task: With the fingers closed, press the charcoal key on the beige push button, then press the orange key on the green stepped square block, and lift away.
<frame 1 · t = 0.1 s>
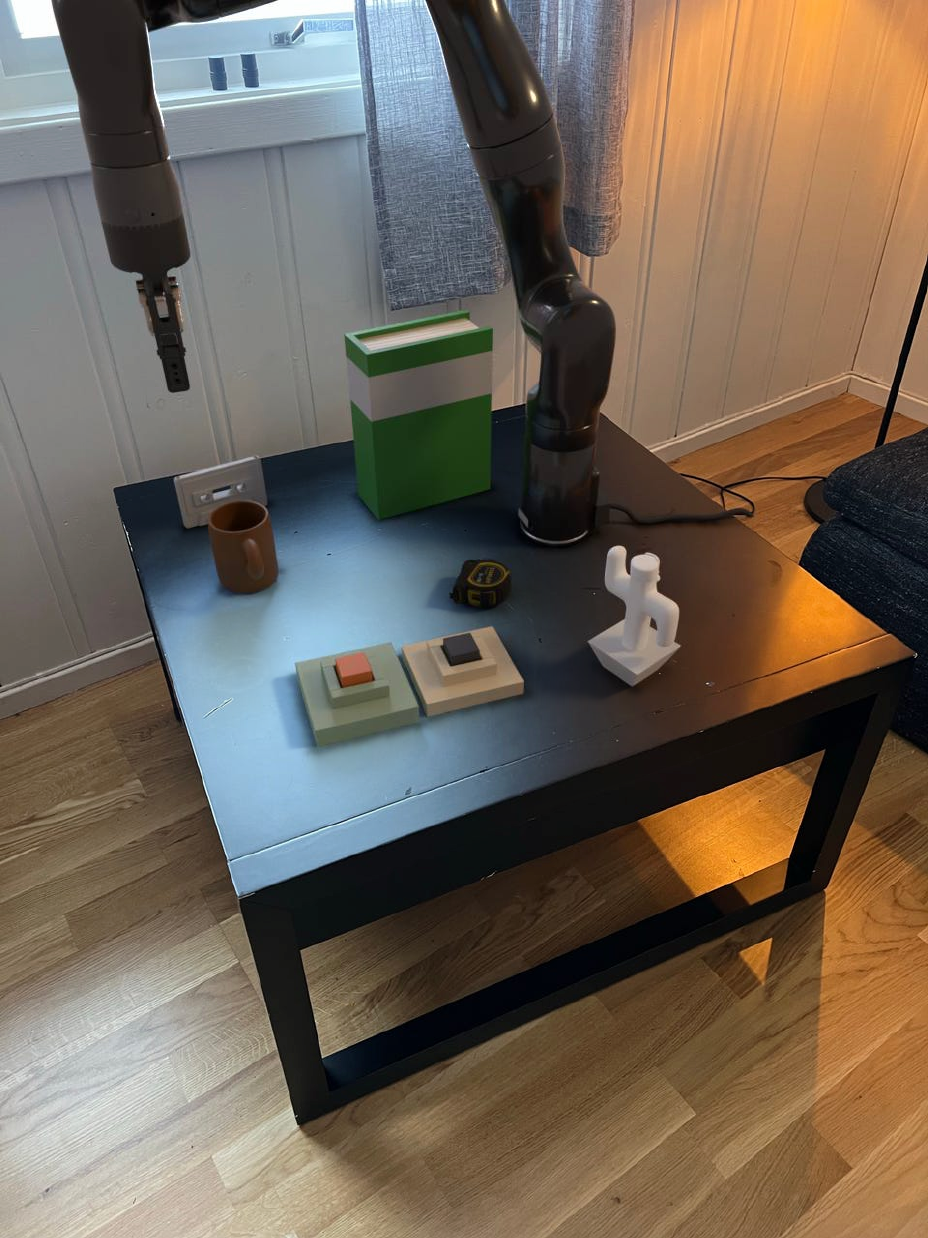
hand: (175, 373, 98), 29 cm above the table, tool pointing down, fingers open, 8 cm apart
tape measure: (477, 598, 116), on the table
key b: (353, 670, 99), point 4 cm above the table, slide at 0.1 cm
key a: (461, 649, 102), point 4 cm above the table, slide at 0.1 cm
green stepped square block: (356, 700, 101), on the table
figurine: (630, 669, 105), on the table
beige push button: (461, 675, 104), on the table
hardback book: (424, 493, 135), on the table
cassette: (226, 516, 130), on the table
mug: (253, 588, 117), on the table
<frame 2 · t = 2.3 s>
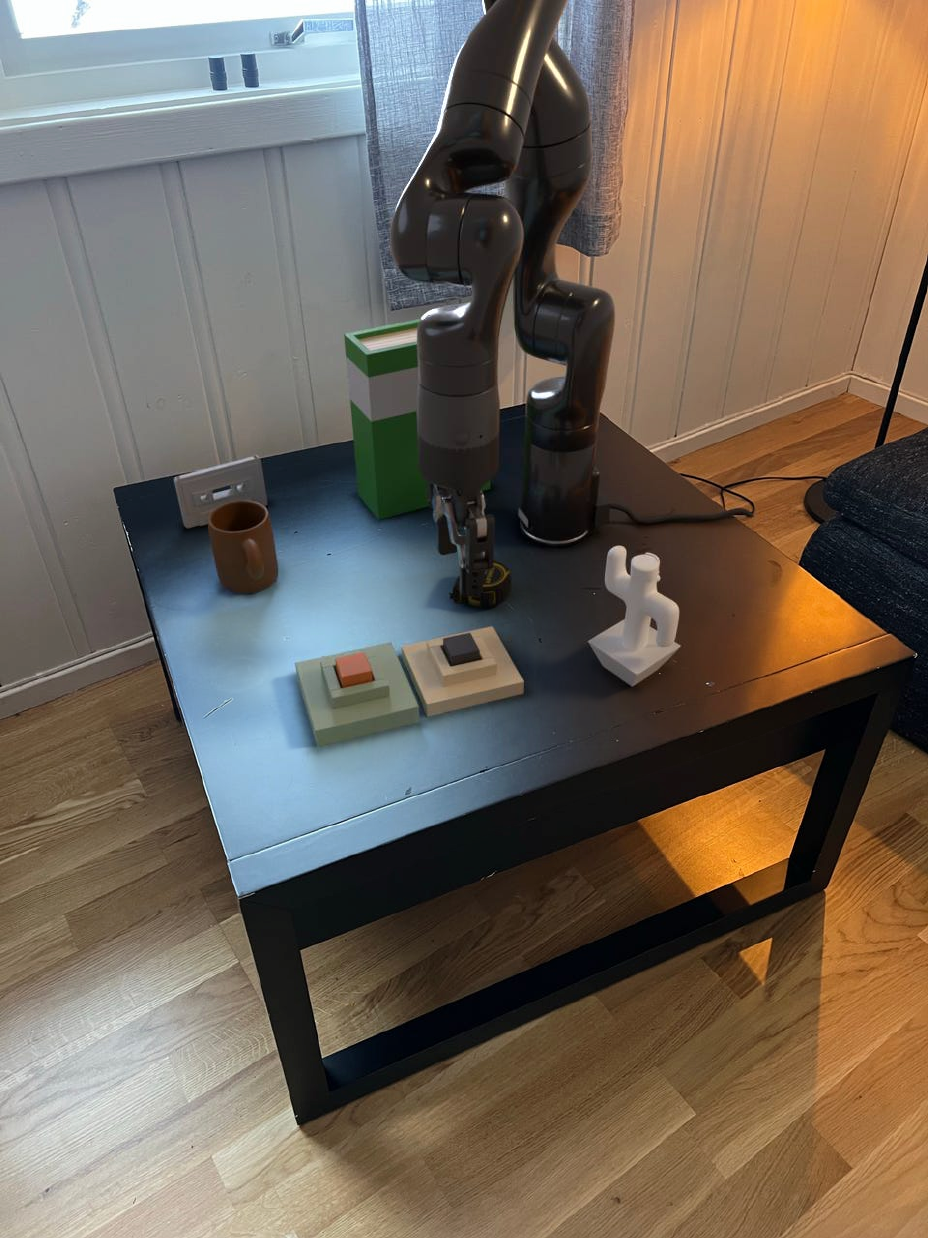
hand: (459, 572, 95), 14 cm above the table, tool pointing down, fingers open, 7 cm apart
nothing on the table moved.
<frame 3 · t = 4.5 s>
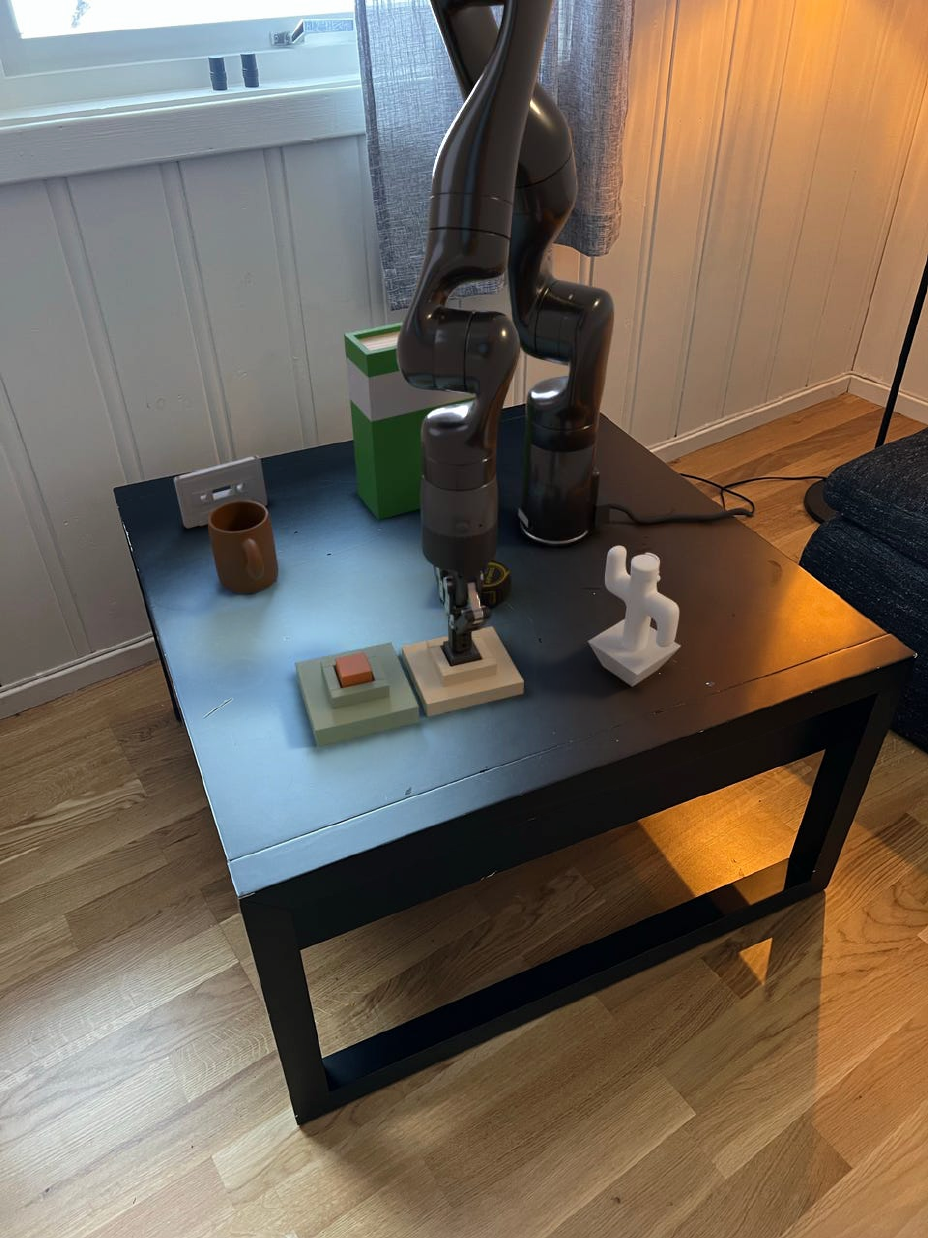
hand: (459, 647, 102), 4 cm above the table, tool pointing down, fingers closed
key a: (461, 652, 102), point 3 cm above the table, slide at -0.3 cm, touching gripper
everything else where it was.
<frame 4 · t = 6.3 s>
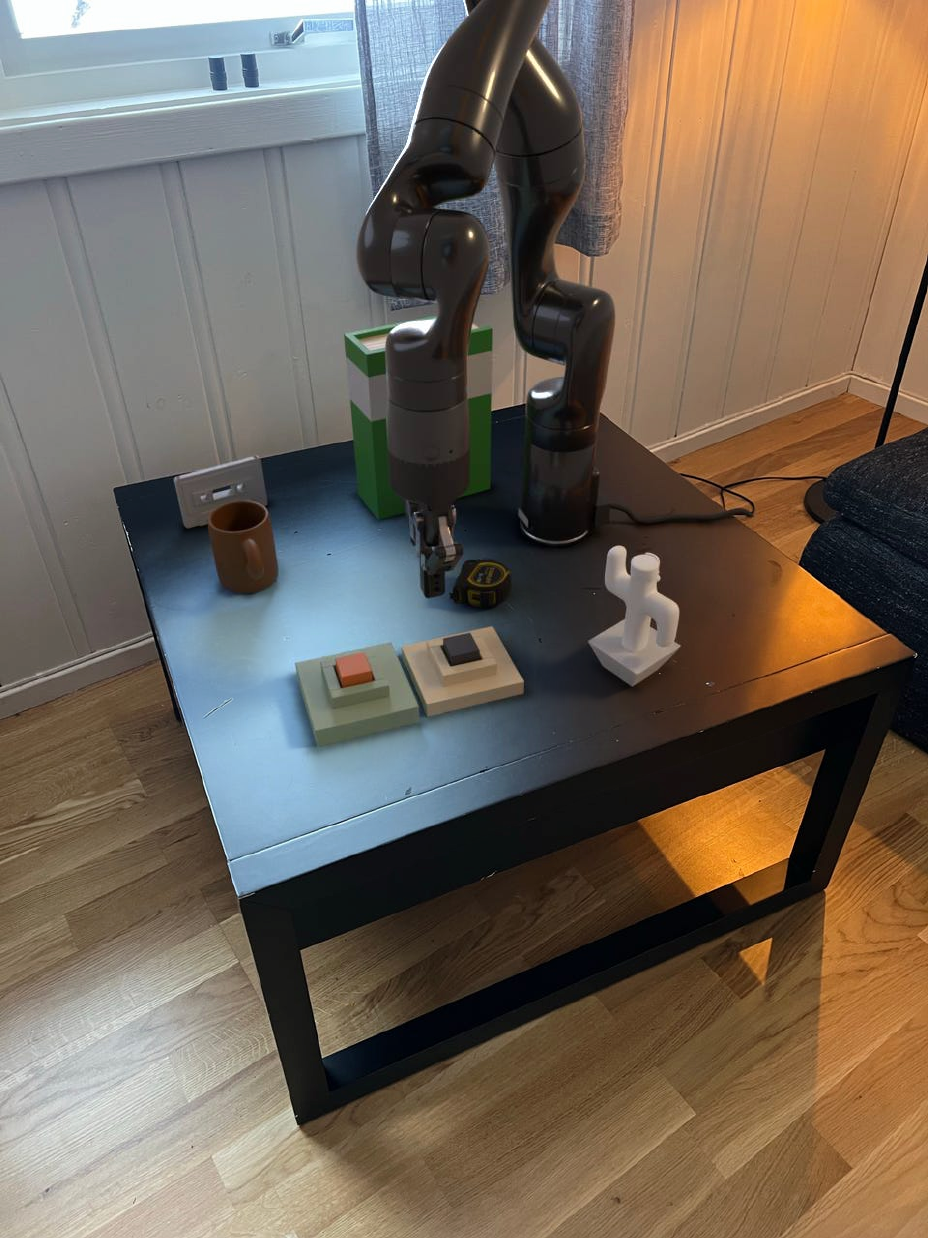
hand: (432, 592, 95), 13 cm above the table, tool pointing down, fingers closed
key a: (461, 649, 102), point 4 cm above the table, slide at 0.1 cm
everything else where it was.
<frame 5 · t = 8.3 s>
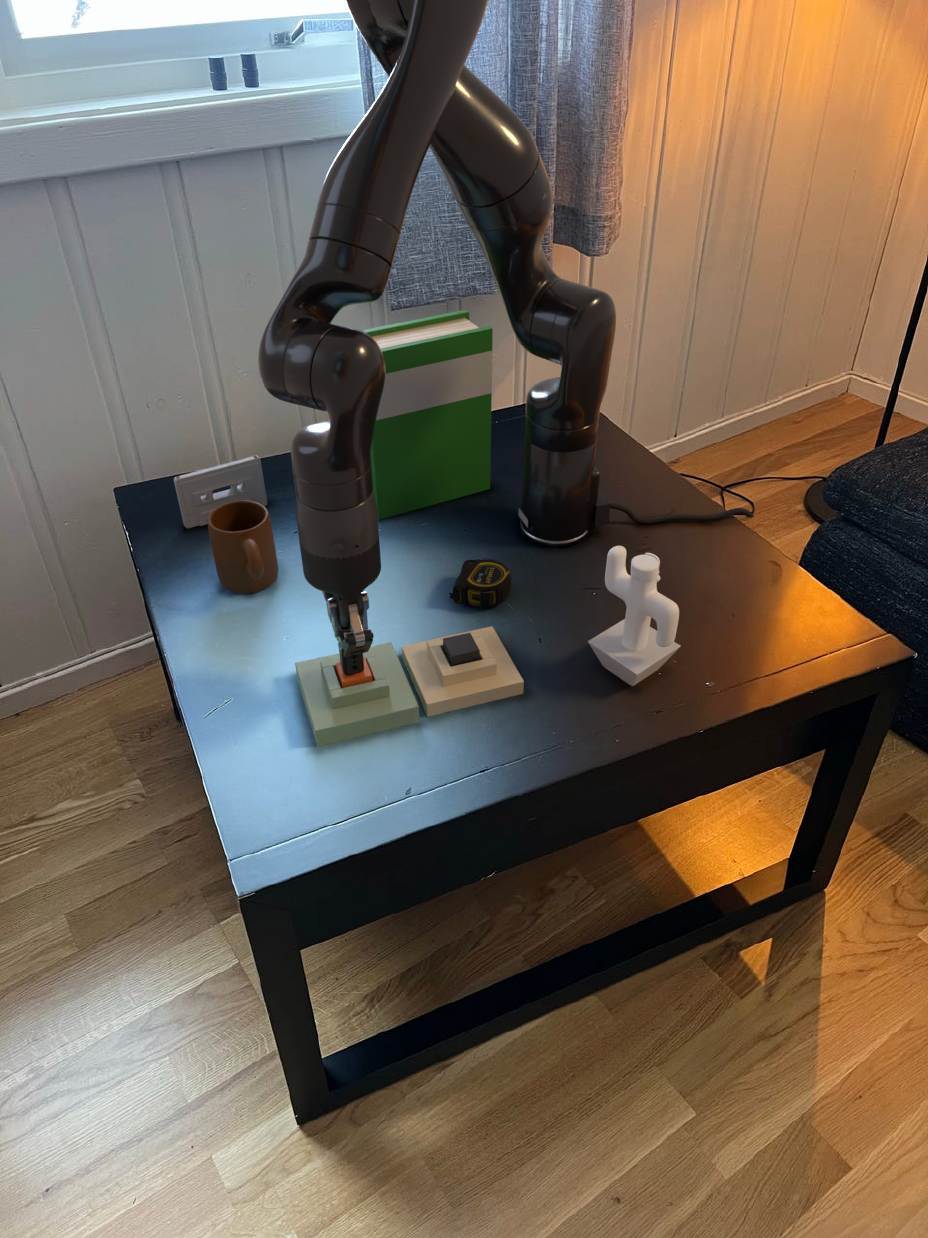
hand: (352, 669, 99), 5 cm above the table, tool pointing down, fingers closed
key b: (354, 674, 99), point 4 cm above the table, slide at -0.5 cm, touching gripper
everything else where it was.
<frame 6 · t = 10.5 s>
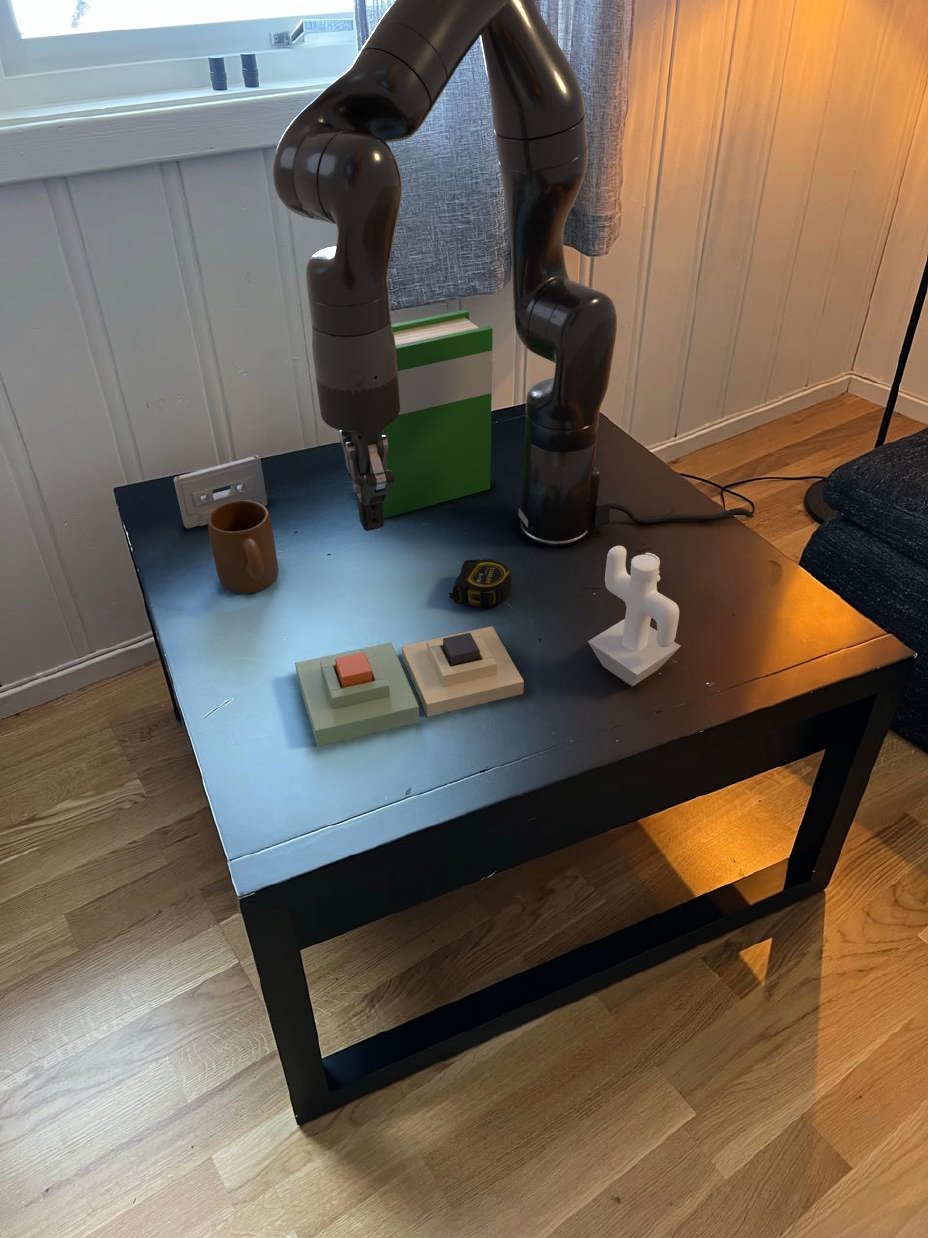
hand: (372, 525, 97), 17 cm above the table, tool pointing down, fingers closed
key b: (353, 670, 99), point 4 cm above the table, slide at 0.1 cm
everything else where it was.
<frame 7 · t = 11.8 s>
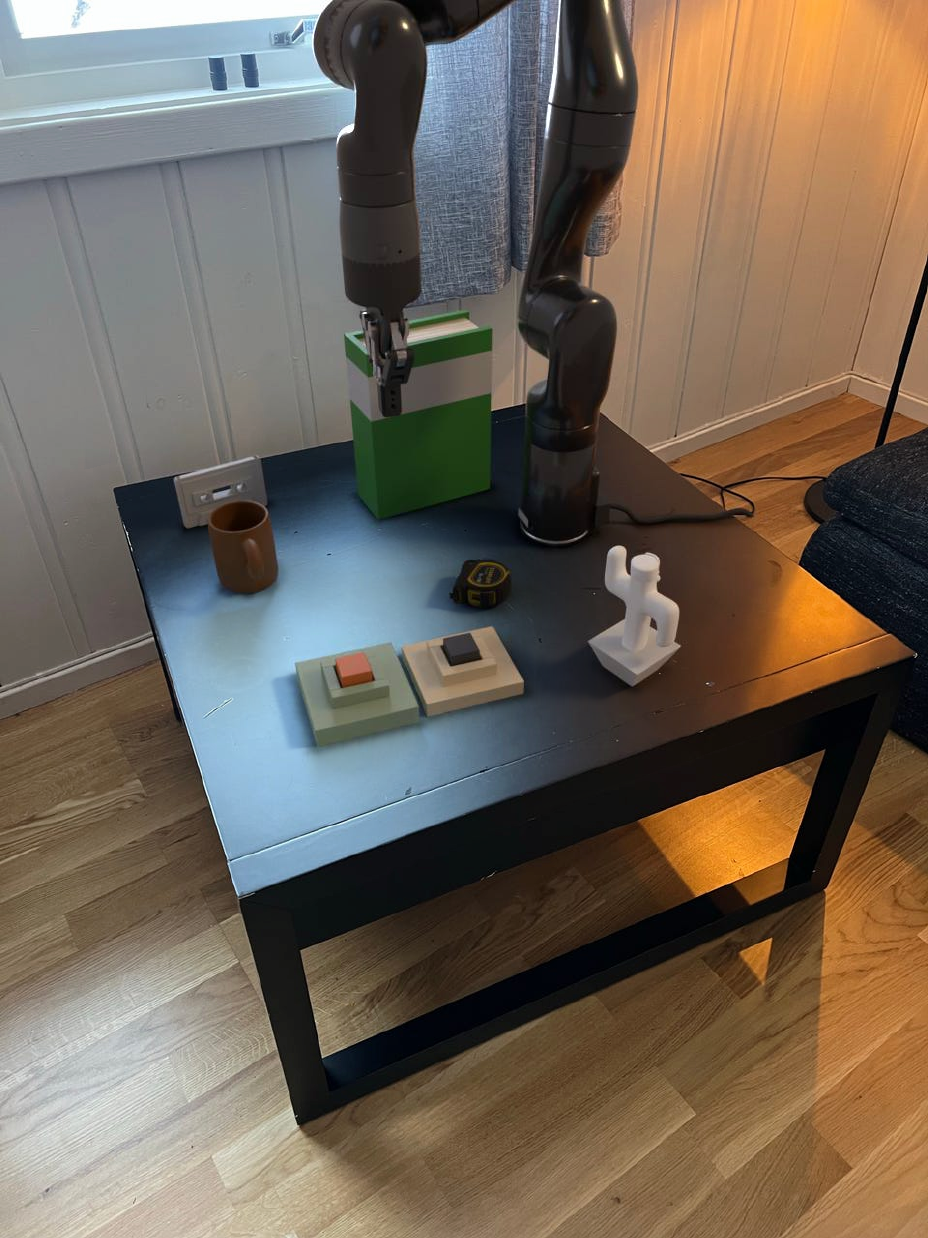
hand: (390, 413, 100), 25 cm above the table, tool pointing down, fingers closed
nothing on the table moved.
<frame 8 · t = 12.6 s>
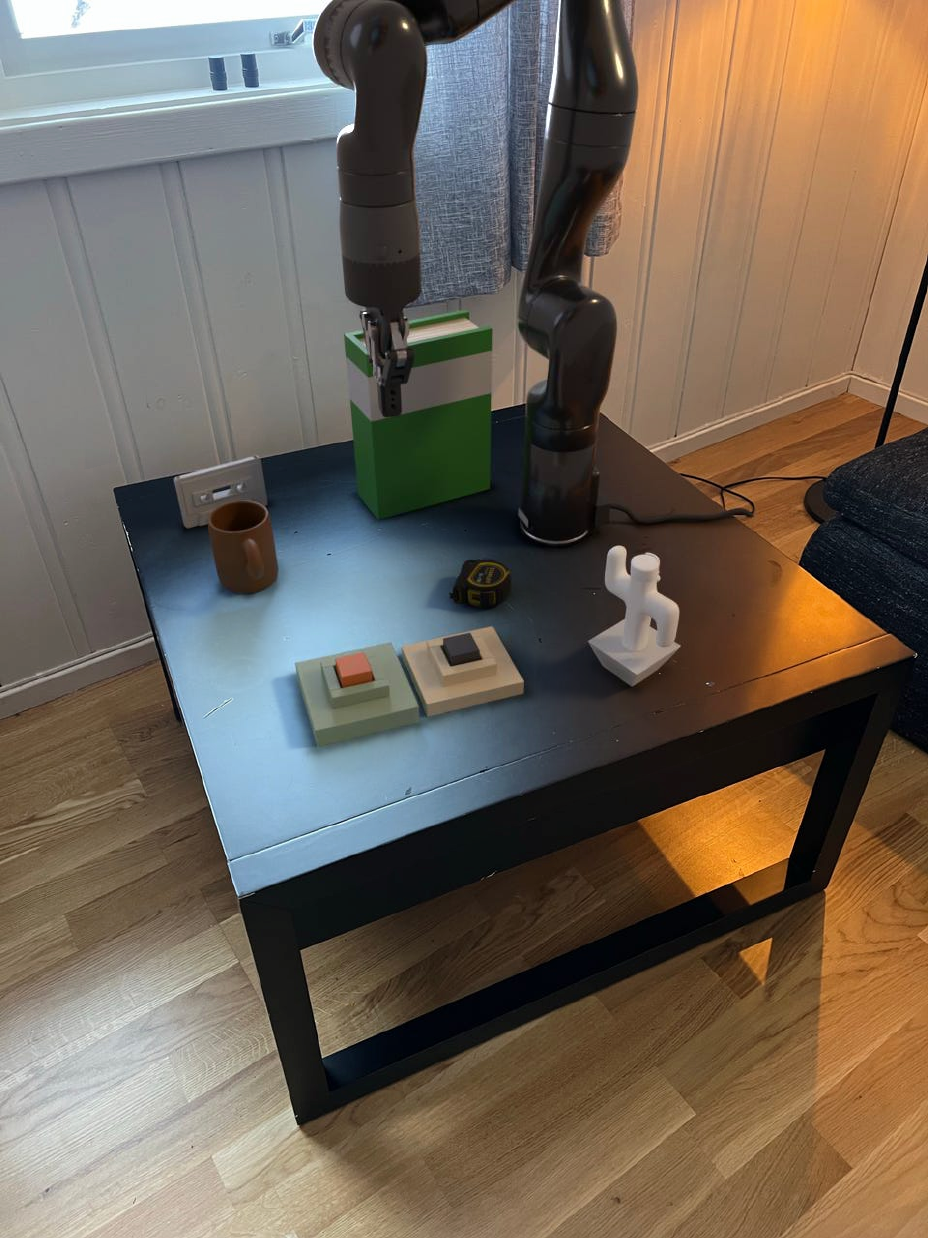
hand: (390, 413, 100), 25 cm above the table, tool pointing down, fingers closed
nothing on the table moved.
at the end: key a pushed in 1.0 cm at the most during the clip, back to where it started at the end; key b pushed in 0.9 cm at the most during the clip, back to where it started at the end; key b slide at 0.1 cm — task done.
